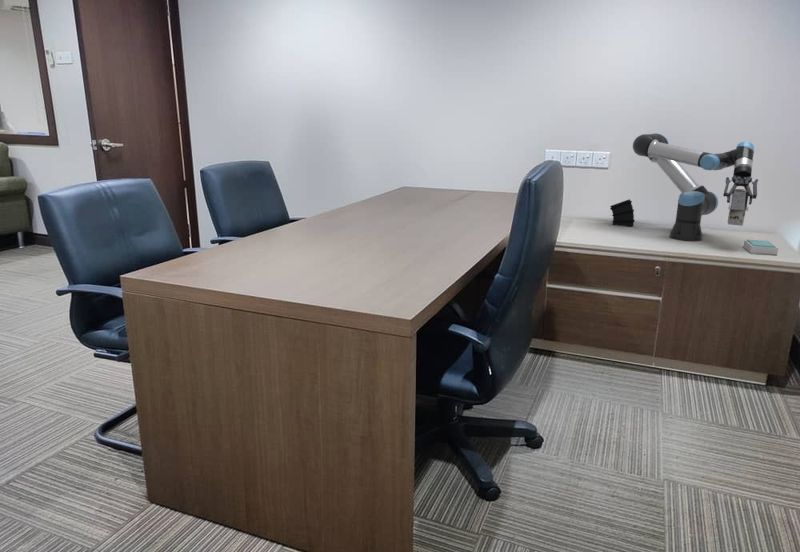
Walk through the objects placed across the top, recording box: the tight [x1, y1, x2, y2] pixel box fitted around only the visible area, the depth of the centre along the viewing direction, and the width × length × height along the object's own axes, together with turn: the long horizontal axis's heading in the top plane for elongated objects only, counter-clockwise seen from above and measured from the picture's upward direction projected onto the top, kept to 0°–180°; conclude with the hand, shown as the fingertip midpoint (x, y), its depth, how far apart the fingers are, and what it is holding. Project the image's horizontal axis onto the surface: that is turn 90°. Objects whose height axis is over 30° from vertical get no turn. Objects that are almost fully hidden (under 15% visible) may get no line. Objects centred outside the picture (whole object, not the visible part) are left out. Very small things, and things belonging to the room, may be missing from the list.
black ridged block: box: [610, 198, 635, 228], centre depth 336 cm, size 4×13×15 cm, turn 56°
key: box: [747, 239, 777, 248], centre depth 280 cm, size 9×12×2 cm
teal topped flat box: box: [742, 239, 779, 256], centre depth 280 cm, size 11×14×4 cm
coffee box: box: [727, 188, 749, 227], centre depth 281 cm, size 9×6×16 cm
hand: (738, 208), depth 278 cm, fingers closed on coffee box, 6 cm apart
